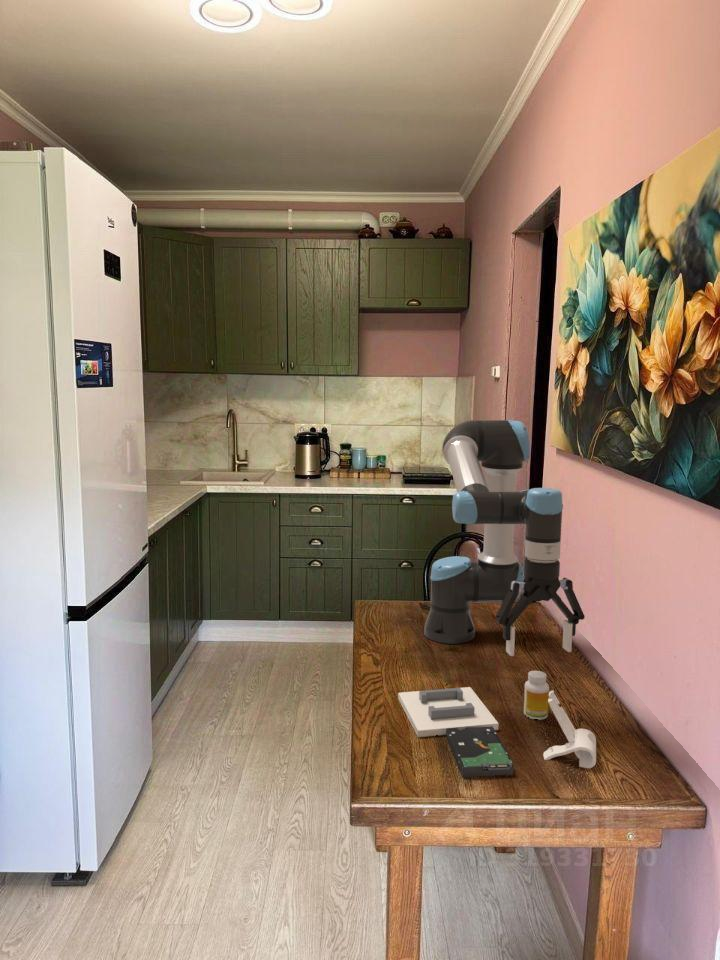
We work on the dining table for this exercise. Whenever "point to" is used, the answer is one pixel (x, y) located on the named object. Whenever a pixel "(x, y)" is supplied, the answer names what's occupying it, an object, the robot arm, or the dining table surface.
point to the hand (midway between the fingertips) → (538, 651)
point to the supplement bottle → (536, 696)
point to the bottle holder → (445, 710)
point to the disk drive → (479, 752)
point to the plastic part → (572, 738)
